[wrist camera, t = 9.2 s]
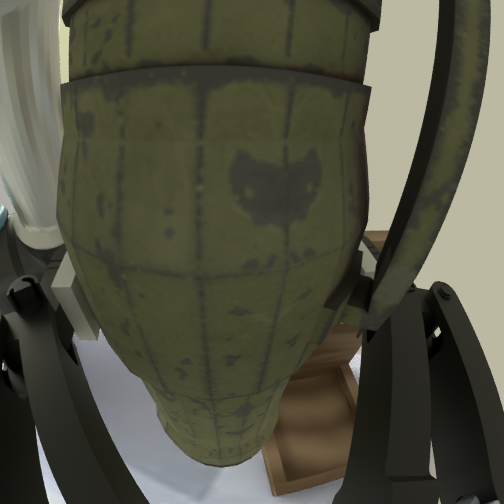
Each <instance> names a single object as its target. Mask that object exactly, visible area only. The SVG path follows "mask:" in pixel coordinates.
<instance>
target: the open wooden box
mask: <svg viewBox="0 0 504 504" xmlns="http://www.w3.org/2000/svg"><path fill="white" fill-rule="evenodd" d="M388 232H389V231H364V235H365V236H366V237H368V238H369V239H370V240H371V242H372V243H373V244H374V246H375V248H377V249H378V251H379V252H380V253H381V251H382V248H383V246H384V243H385V240H386V238H387V235H388ZM359 330H360V327H355V326H351V325H348V324H341V323H340V322H338V324H337V325H336V326H335V328H334V329H333V330H332V331H331V333H330V334H329V335H328V337H327V338H326V339H325V340H324V342H323V343H322V344H321V345H318V347H317V348H316V349H315V350H314V352H313V353H312V354H311V355H310V357H309V358H308V359H307V360H306V361H305V362H304V364H303V365H302V366H301V367H300V368H299V369H298V371H297V372H296V373H295V374H294V375H292V376H290V379H289V381H288V383H287V385H286V388H285V390H284V392H283V394H282V397H281V401H280V409H279V416H278V421H277V423H276V425H275V428H274V430H273V432H272V435H271V437H270V438H269V440H268V441H267V443H266V444H265V445H264V446H263V447H262V448H261V449H262V453H263V458H264V462H265V466H266V470H267V474H268V478H269V482H270V486H271V490H272V494H273V496H278V495H283V494H287V493H291V492H295V491H299V490H303V489H307V488H310V487H314V486H317V485H321V484H324V483H327V482H330V481H333V480H336V479H339V478H342V477H345V472H346V467H347V462H348V457H349V452H350V446H351V440H352V434H353V428H354V421H355V414H356V406H357V398H358V388H359V387H358V385H357V383H356V380H355V378H354V375H353V373H352V371H351V368H350V366H349V362H350V361H351V360H352V358H353V357H354V355H355V354H356V352H357V351H358V350H359V348H360V347H361V345H362V333H363V332H362V333H361V335H360V337H359V338H356V336H357V333H358V332H359Z"/></svg>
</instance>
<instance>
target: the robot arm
mask: <svg viewBox="0 0 504 504" xmlns="http://www.w3.org/2000/svg"><path fill="white" fill-rule="evenodd" d="M60 5H61V0H0V181H1V183H2V185H3V187H4V189H5V191H6V193H7V195H8V197H9V199H10V201H11V202H12V205H13V206H14V208H15V210H14V213H12V214H8V210H7V209H6V207H5V206H4V205H2V204H0V504H49V502H48V498H47V494H46V490H45V486H44V481H43V476H42V471H41V466H40V460H39V453H38V446H37V438H36V429H37V432H38V435H39V438H40V441H41V444H42V447H43V450H44V453H45V456H46V458H47V461H48V464H49V466H50V469H51V471H52V474H53V476H54V478H55V481H56V483H57V485H58V487H59V489H60V491H61V494H62V496H63V498H64V500H65V502H66V504H150V503H149V502H148V500H147V499H146V497H145V496H144V494H143V493H142V491H141V490H140V488H139V487H138V485H137V483H136V482H135V480H134V479H133V477H132V475H131V474H130V472H129V470H128V468H127V467H126V465H125V463H124V461H123V460H122V458H121V456H120V454H119V452H118V450H117V448H116V446H115V444H114V442H113V441H112V438H111V436H110V434H109V432H108V430H107V428H106V426H105V424H104V422H103V419H102V417H101V415H100V413H99V410H98V408H97V405H96V403H95V401H94V398H93V396H92V393H91V390H90V388H89V385H88V382H87V380H86V377H85V374H84V371H83V368H82V365H81V362H80V359H79V356H78V352H77V349H76V346H75V344H74V342H73V341H72V338H73V333H74V331H75V333H76V335H77V336H78V338H79V339H80V340H98V335H99V329H100V326H99V324H98V322H97V320H96V318H95V316H94V314H93V312H92V310H91V308H90V305H89V303H88V301H87V299H86V297H85V294H84V292H83V290H82V288H81V285H80V283H79V280H78V278H77V276H76V273H75V271H74V268H73V266H72V263H71V260H70V258H69V255H68V252H67V249H66V247H65V244H64V241H63V238H62V235H61V232H60V229H59V226H58V222H57V219H56V205H57V187H58V175H59V165H60V156H61V149H62V142H63V136H64V127H63V118H62V107H61V94H60V84H61V78H60V58H59V25H60V24H59V23H60ZM358 250H361V251H363V259H362V266H361V274H360V275H364V276H368V277H371V278H372V279H373V280H374V275H375V268H376V263H377V261H378V258H379V256H380V252H379V251H378V249H377V248H375V246H374V244H373V243H372V242H371V240H370V239H369V238H368V237H366V236H365V235H364V234H363V237H362V240H361V243H360V246H359V248H358ZM341 324H344V323H341ZM438 327H439V328H440V331H441V333H440V334H439V336H438V337H436V336H435V334H434V332H435V330H436V329H437V328H438ZM362 332H363V333H362ZM361 333H362V353H361V366H360V378H359V388H358V398H357V406H356V414H355V421H354V428H353V434H352V440H351V446H350V452H349V457H348V462H347V467H346V472H345V477H344V481H343V484H342V487H341V488H340V490H339V491H338V492H337V493H336V495H335V497H334V499H333V502H332V504H438V500H439V498H440V502H441V504H504V411H503V407H502V404H501V401H500V397H499V394H498V391H497V388H496V385H495V382H494V379H493V376H492V373H491V370H490V368H489V365H488V362H487V360H486V357H485V355H484V352H483V350H482V347H481V345H480V343H479V340H478V338H477V336H476V334H475V331H474V329H473V327H472V325H471V323H470V320H469V318H468V316H467V314H466V312H465V310H464V308H463V306H462V304H461V302H460V300H459V299H458V296H457V295H456V293H455V291H454V290H453V289H452V288H451V287H450V286H449V285H448V284H446V283H444V282H440V281H437V282H434V283H433V284H432V286H431V288H430V289H429V290H425V289H420V288H417V287H416V285H415V284H414V283H412V285H411V286H410V288H409V289H408V291H407V292H406V294H405V295H404V297H403V298H402V300H401V301H400V303H399V304H398V306H397V307H396V308H395V310H394V311H393V312H392V313H391V314H390V316H389V317H388V318H387V319H386V320H385V322H384V323H383V324H382V325H381V326H380V327H379V329H378V330H377V331H373V330H368V329H364V328H360V330H359V332H358V333H357V336H356V338H359V337H360V335H361ZM3 363H4V368H3V370H2V364H3ZM35 425H36V428H35ZM431 441H432V447H433V453H434V460H435V468H436V477H437V479H435V478H434V477H432V476H431V475H430V472H429V462H430V446H431Z"/></svg>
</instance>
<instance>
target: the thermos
mask: <svg viewBox="0 0 504 504" xmlns="http://www.w3.org/2000/svg"><path fill="white" fill-rule="evenodd" d="M381 6H382V0H63V9H62V19H63V22H64V24H65V26H66V27H70V35H69V82H67V83H64V84H60V94H61V107H62V118H63V127H64V136H63V142H62V149H61V156H60V165H59V175H58V187H57V205H56V219H57V222H58V226H59V229H60V232H61V235H62V238H63V241H64V244H65V247H66V249H67V252H68V255H69V258H70V260H71V263H72V266H73V268H74V271H75V273H76V276H77V278H78V280H79V283H80V285H81V288H82V290H83V292H84V294H85V297H86V299H87V301H88V303H89V305H90V308H91V310H92V312H93V314H94V316H95V318H96V320H97V322H98V324H99V326H100V328H101V330H102V332H103V334H104V336H105V338H106V339H107V341H108V343H109V345H110V346H111V348H112V349H113V350H114V352H115V353H116V354H117V355H118V357H119V358H120V359H121V361H122V362H123V363H124V364H125V366H126V367H127V368H128V369H129V371H130V372H131V373H133V374H135V375H136V376H138V377H139V378H141V379H142V381H143V383H144V384H145V386H146V388H147V390H148V391H149V393H150V395H151V396H152V398H153V400H154V401H155V403H156V407H157V416H158V418H159V420H160V422H161V424H162V426H163V428H164V430H165V432H166V433H167V435H168V436H169V437H170V438H171V440H172V441H173V442H174V443H175V444H176V445H177V446H178V447H179V448H180V449H181V450H182V451H183V452H184V453H185V454H186V455H187V456H189V457H191V458H192V459H194V460H196V461H198V462H200V463H202V464H204V465H207V466H214V467H221V468H222V467H229V466H235V465H239V464H241V463H243V462H245V461H247V460H249V459H251V458H252V457H253V456H254V455H255V454H256V453H257V452H258V451H259V450H260V449H261V448H262V447H263V446H264V445H265V444H266V443H267V441H268V440H269V438H270V437H271V435H272V432H273V430H274V428H275V425H276V423H277V421H278V416H279V409H280V401H281V397H282V394H283V392H284V390H285V388H286V385H287V383H288V381H289V379H290V376H292V375H294V374H295V373H296V372H297V371H298V369H299V368H300V367H301V366H302V365H303V364H304V362H305V361H306V360H307V359H308V358H309V357H310V355H311V354H312V353H313V352H314V350H315V349H316V348H317V347H318V345H321V344H322V343H323V342H324V340H325V339H326V338H327V337H328V335H329V334H330V333H331V331H332V330H333V329H334V328H335V326H336V325H337V324H338V322H340V323H344V324H348V325H351V326H355V327H360V328H364V329H368V330H373V331H377V330H378V329H379V327H380V326H381V325H382V324H383V323H384V322H385V320H386V319H387V318H388V317H389V316H390V314H391V313H392V312H393V311H394V310H395V308H396V307H397V306H398V304H399V303H400V301H401V300H402V298H403V297H404V295H405V294H406V292H407V291H408V289H409V288H410V286H411V285H412V283H413V281H414V280H415V278H416V277H417V275H418V273H419V272H420V270H421V268H422V266H423V264H424V262H425V260H426V258H427V256H428V254H429V252H430V250H431V248H432V246H433V244H434V242H435V240H436V238H437V235H438V233H439V231H440V229H441V227H442V224H443V222H444V220H445V217H446V215H447V213H448V210H449V208H450V205H451V203H452V200H453V198H454V195H455V193H456V190H457V187H458V184H459V182H460V179H461V176H462V173H463V170H464V167H465V164H466V161H467V158H468V154H469V151H470V148H471V144H472V141H473V137H474V133H475V129H476V125H477V121H478V117H479V112H480V108H481V103H482V98H483V92H484V86H485V80H486V73H487V65H488V56H489V45H490V24H491V23H490V22H491V9H490V8H491V7H490V0H439V20H438V32H437V44H436V51H435V59H434V66H433V73H432V79H431V85H430V90H429V95H428V101H427V105H426V110H425V115H424V119H423V123H422V128H421V132H420V136H419V140H418V144H417V147H416V151H415V155H414V158H413V161H412V165H411V169H410V172H409V175H408V178H407V181H406V184H405V188H404V190H403V193H402V196H401V199H400V202H399V205H398V208H397V211H396V214H395V217H394V219H393V222H392V224H391V227H390V230H389V232H388V235H387V238H386V240H385V243H384V246H383V248H382V251H381V253H380V256H379V258H378V261H377V263H376V268H375V275H374V280H373V279H372V278H371V277H368V276H364V275H360V274H361V266H362V259H363V251H361V250H358V248H359V246H360V243H361V240H362V237H363V234H364V231H365V229H366V226H367V222H368V212H369V182H368V166H367V153H366V143H365V133H364V126H365V120H366V116H367V111H368V105H369V100H370V94H371V88H372V87H370V86H366V85H363V81H364V75H365V67H366V61H367V54H368V45H369V38H370V33H372V32H375V31H378V30H379V24H380V17H381Z"/></svg>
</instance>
